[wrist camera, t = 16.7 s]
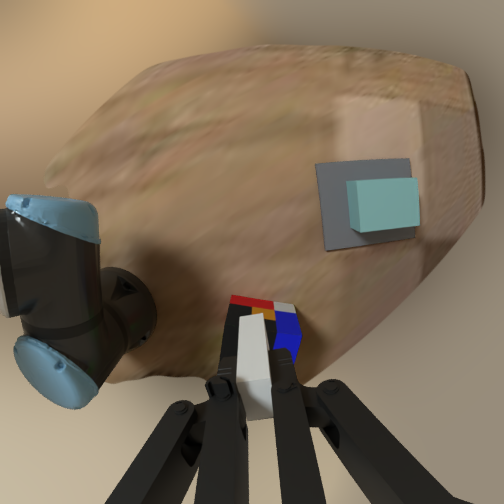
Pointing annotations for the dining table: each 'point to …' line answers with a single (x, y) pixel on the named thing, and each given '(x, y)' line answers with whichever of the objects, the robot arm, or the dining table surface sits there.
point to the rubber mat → (336, 200)
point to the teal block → (383, 204)
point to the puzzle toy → (276, 322)
